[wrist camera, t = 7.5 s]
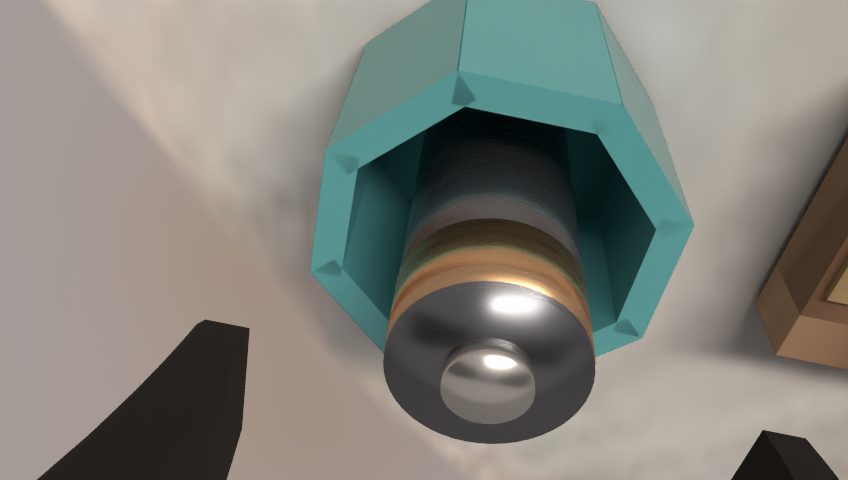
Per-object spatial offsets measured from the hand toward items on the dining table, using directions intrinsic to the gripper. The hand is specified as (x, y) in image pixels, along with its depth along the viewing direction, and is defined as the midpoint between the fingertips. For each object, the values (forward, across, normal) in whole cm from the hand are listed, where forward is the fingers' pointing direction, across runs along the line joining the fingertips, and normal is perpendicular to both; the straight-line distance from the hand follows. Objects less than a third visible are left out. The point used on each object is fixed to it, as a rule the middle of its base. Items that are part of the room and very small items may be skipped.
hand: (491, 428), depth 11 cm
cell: (+9, 0, 0) cm, 9 cm away
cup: (+9, 0, 0) cm, 9 cm away
